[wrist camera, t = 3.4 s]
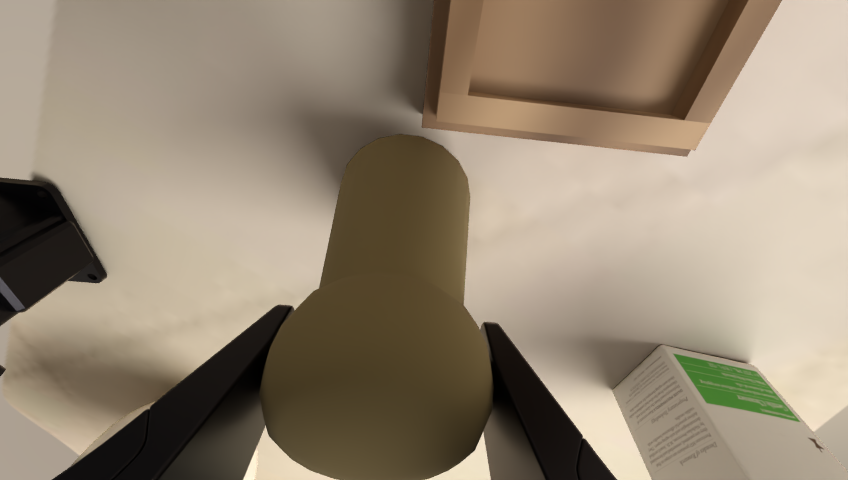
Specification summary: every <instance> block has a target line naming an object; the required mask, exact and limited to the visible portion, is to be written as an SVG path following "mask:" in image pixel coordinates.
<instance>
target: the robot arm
mask: <svg viewBox="0 0 848 480" xmlns="http://www.w3.org/2000/svg"><path fill="white" fill-rule="evenodd" d="M106 277H107V274H106V272H105V270H104V268H103V267H102V265H101V263H100V261H99V260H98V258H97V256H96V254H95V253H94V251H93V249H92V247H91V246H90V244H89V242H88V241H87V239H86V237H85V235H84V234H83V232H82V230H81V228H80V227H79V225H78V223H77V221H76V220H75V218H74V216H73V214H72V213H71V211H70V209H69V207H68V206H67V204H66V202H65V201H64V199H63V197H62V195H61V194H60V192H59V191H58V189H57V188H56V187H54V186H53V185H51V184H49V183H46V182H39V181H29V180H19V179H9V178H0V326H1V325H2V324H4V323H5V322H7V321H8V320H9V319H11V318H12V317H14V316H15V315H16V314H18V313H19V312H25V311H27V310H28V309H30V308H31V307H32V306H34V305H35V304H36V303H38V302H39V301H40V300H42V299H43V298H45V297H46V296H47V295H49V294H50V293H51V292H53V291H54V290H55V289H57V288H58V287H60V286H61V285H62V284H64V283H65V282H66V281H77V282H89V283H100V282H101V281H103V280H104V279H105V278H106ZM293 312H294V308H293V306H290V305H277V306H275V307H274V308H272V309H271V310H270V311H269V312H267V313H266V314H265V315H264V316H262V317H261V318H260V319H259V320H257V321H256V322H255V323H254V324H252V325H251V326H250V327H249V328H247V329H246V330H245V331H244V332H242V333H241V334H240V335H239V336H237V337H236V338H235V339H234V340H232V341H231V342H230V343H229V344H227V345H226V346H225V347H224V348H222V349H221V350H220V351H219V352H217V353H216V354H215V355H214V356H212V357H211V358H210V359H209V360H207V361H206V362H205V363H204V364H202V365H201V366H200V367H199V368H197V369H196V370H195V371H194V372H192V373H191V374H190V375H189V376H187V377H186V378H185V379H184V380H182V381H181V382H180V383H179V384H177V385H176V386H175V387H174V388H172V389H171V390H170V391H169V392H167V393H166V394H165V395H164V396H162V397H161V398H160V399H159V400H157V401H156V402H155V403H154V404H152V405H151V406H150V409H146V410H145V411H143V412H142V413H141V414H140V415H138V416H137V417H136V418H135V419H133V420H132V421H131V422H130V423H128V424H127V425H126V426H124V427H123V428H122V429H121V430H119V431H118V432H117V433H115V434H114V435H113V436H111V437H110V438H109V439H108V440H106V441H105V442H104V443H102V444H101V445H100V446H98V447H97V448H96V449H94V450H93V451H91V452H90V453H89V454H87V455H86V456H85V457H83V458H82V459H80V460H79V461H78V462H76V463H75V464H73V465H72V466H71V467H69V468H68V469H67V470H65V471H64V472H62V473H61V474H59V475H58V476H57V477H55V478H54V479H52V480H243V479H244V477H245V474H246V472H247V469H248V467H249V465H250V462H251V460H252V457H253V455H254V452H255V450H256V447H257V445H258V443H259V440H260V438H261V435H262V433H263V430H264V428H265V422H264V418H263V412H262V406H261V401H260V395H259V392H260V387H261V381H262V376H263V370H264V366H265V363H266V360H267V356H268V353H269V350H270V347H271V345H272V343H273V341H274V339H275V337H276V335H277V333H278V331H279V329H280V327H281V325H282V324H283V323H284V322H285V321H286V320H287V319H288V317H289V316H290V315H291V314H292V313H293ZM480 332H481V334H482V336H483V338H484V340H485V342H486V344H487V349H488V354H489V359H490V364H491V371H492V378H493V385H494V392H493V404H492V412H491V415H490V417H489V419H488V421H487V424H486V426H485V428H484V431H483V432H484V438H485V445H486V451H487V457H488V464H489V470H490V476H491V480H617V479H616V478H615V477H614V475H613V474H612V473H611V472H610V470H609V469H608V468H607V467H606V465H605V464H604V463H603V461H602V460H601V459H600V458H599V456H598V455H597V454H596V452H595V451H594V450H593V448H592V447H591V446H590V444H589V443H588V442H587V441H586V439H584V438H583V436H582V434H581V433H580V431H579V430H578V429H577V427H576V426H575V425H574V423H573V422H572V421H571V419H570V418H569V417H568V416H567V414H566V413H565V412H564V410H563V409H562V408H561V406H560V405H559V404H558V402H557V401H556V400H555V398H554V397H553V396H552V394H551V393H550V392H549V390H548V389H547V388H546V386H545V385H544V384H543V382H542V381H541V380H540V378H539V377H538V376H537V374H536V373H535V372H534V370H533V369H532V368H531V366H530V365H529V364H528V362H527V361H526V360H525V358H524V357H523V356H522V354H521V353H520V352H519V351H518V349H517V348H516V347H515V345H514V344H513V343H512V341H511V340H510V339H509V337H508V336H507V335H506V333H505V332H504V331H503V329H502V328H501V327H500V325H499V324H497V323H492V322H484V323H483V324H482V326H481V329H480ZM5 370H6V369H5V368H4V367H3V366H1V365H0V376H1V375H2V374H3V373H4V371H5ZM582 438H583V439H582Z"/></svg>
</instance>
